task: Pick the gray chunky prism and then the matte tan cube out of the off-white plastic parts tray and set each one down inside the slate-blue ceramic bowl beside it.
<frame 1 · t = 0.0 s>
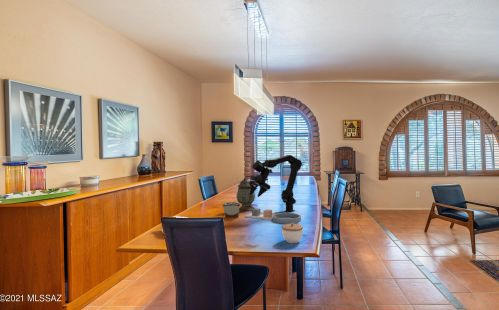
hand: (254, 195, 208), 15 cm above the table, tool tilted 35°, fingers open, 9 cm apart
white lumpy chunk: (186, 233, 175), on the table
grey stone urn: (246, 210, 233), on the table
bowl: (286, 220, 198), on the table
food container: (232, 217, 211), on the table
matte tan cube: (267, 216, 208), resting on parts tray
gray chunky prism: (256, 215, 212), resting on parts tray
parts tray: (262, 216, 210), on the table
lidded jar: (292, 241, 156), on the table
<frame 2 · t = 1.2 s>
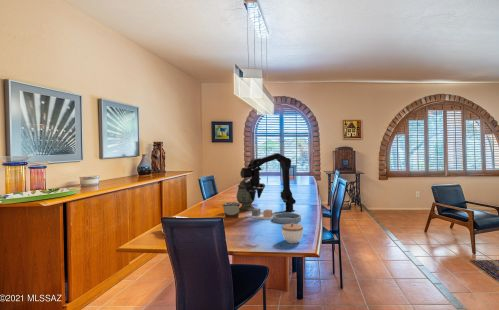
hand: (255, 199, 212), 12 cm above the table, tool pointing down, fingers open, 9 cm apart
nothing on the table moved.
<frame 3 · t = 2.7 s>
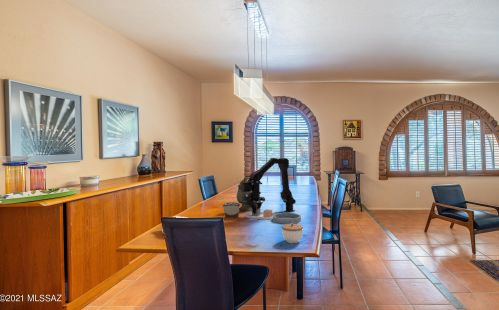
hand: (256, 213, 212), 2 cm above the table, tool pointing down, fingers closed on gray chunky prism, 4 cm apart
gray chunky prism: (256, 215, 212), resting on parts tray, touching gripper
everything else where it was.
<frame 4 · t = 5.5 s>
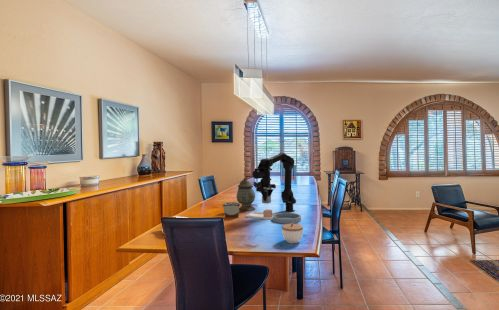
hand: (266, 200, 207), 12 cm above the table, tool pointing down, fingers closed on gray chunky prism, 4 cm apart
gray chunky prism: (266, 202, 207), point 10 cm above the table, touching gripper
everything else where it was.
when the fingers open (4 cm above the table, at t = 8.2 s): gray chunky prism drops 1 cm, resting on bowl.
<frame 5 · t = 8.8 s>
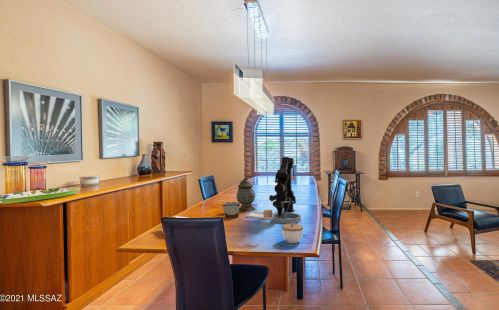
hand: (282, 214, 200), 4 cm above the table, tool pointing down, fingers open, 9 cm apart
gray chunky prism: (282, 219, 200), resting on bowl
everything else where it was.
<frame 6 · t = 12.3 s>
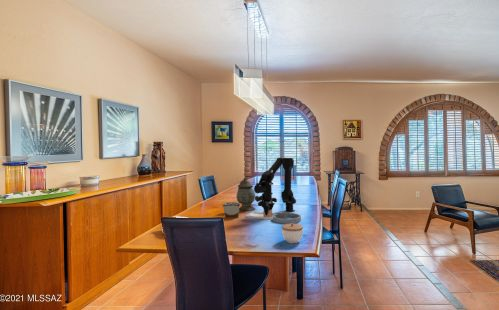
hand: (267, 214, 208), 2 cm above the table, tool pointing down, fingers closed on matte tan cube, 4 cm apart
matte tan cube: (267, 216, 208), resting on parts tray, touching gripper
everything else where it was.
when the fingers open (4 cm above the table, at t = 17.4 s): matte tan cube drops 1 cm, resting on bowl.
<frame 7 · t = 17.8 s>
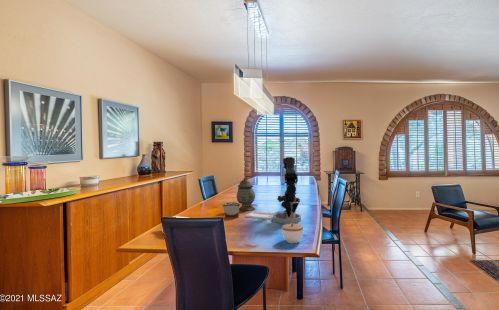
hand: (291, 215, 197), 4 cm above the table, tool pointing down, fingers open, 8 cm apart
matte tan cube: (291, 220, 197), resting on bowl
everything else where it was.
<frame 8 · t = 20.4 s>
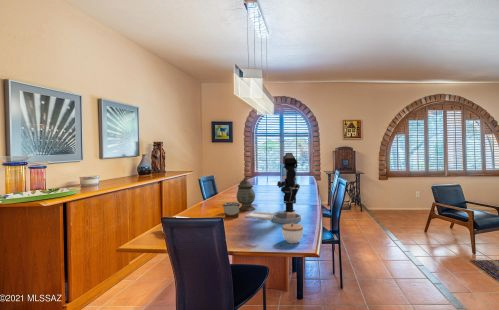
hand: (290, 200, 197), 13 cm above the table, tool pointing down, fingers open, 9 cm apart
nothing on the table moved.
at the end: gray chunky prism inside the target area on the bowl (3.1 cm from its centre), point 0.5 cm above the bowl's base; matte tan cube inside the target area on the bowl (3.0 cm from its centre), point 0.5 cm above the bowl's base; the gripper is holding nothing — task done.
